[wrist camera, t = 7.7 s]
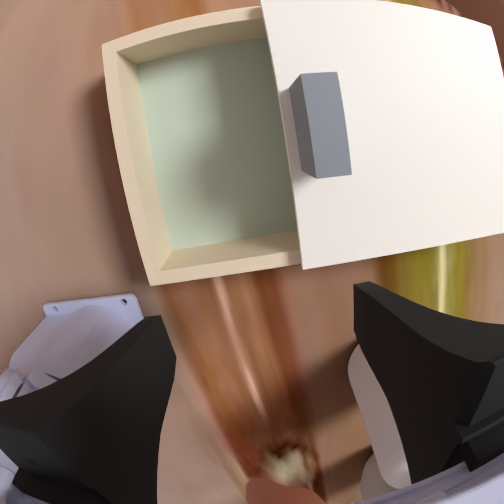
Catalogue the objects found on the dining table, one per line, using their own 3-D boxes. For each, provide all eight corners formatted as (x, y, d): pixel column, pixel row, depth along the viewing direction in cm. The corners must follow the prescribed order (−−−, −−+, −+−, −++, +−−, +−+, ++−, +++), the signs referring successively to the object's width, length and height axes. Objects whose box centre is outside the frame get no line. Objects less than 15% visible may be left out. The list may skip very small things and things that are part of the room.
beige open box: (166, 259, 21) (150, 286, 17) (127, 59, 16) (101, 44, 12) (381, 226, 20) (408, 245, 16) (355, 26, 15) (378, 6, 11)
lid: (301, 265, 16) (315, 300, 13) (259, 3, 11) (263, -32, 8) (504, 229, 16) (540, 247, 12) (486, 27, 11) (521, 18, 7)
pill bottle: (349, 325, 23) (425, 493, 9) (433, 312, 23) (533, 436, 9) (339, 393, 26) (381, 536, 11) (414, 379, 25) (476, 497, 11)
